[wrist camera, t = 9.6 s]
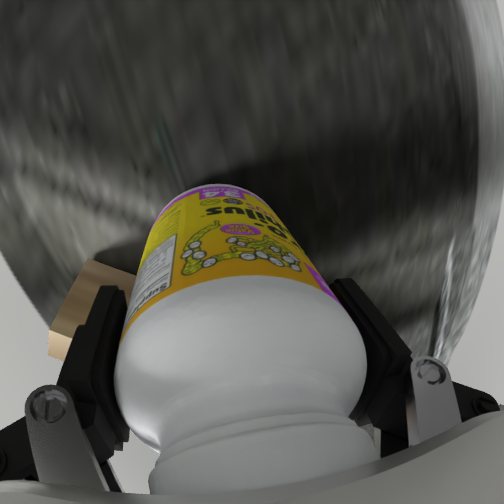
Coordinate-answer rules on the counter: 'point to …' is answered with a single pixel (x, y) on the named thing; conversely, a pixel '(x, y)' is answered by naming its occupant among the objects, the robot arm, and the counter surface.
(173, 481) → the supplement bottle
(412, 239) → the counter surface
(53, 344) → the wooden plank
